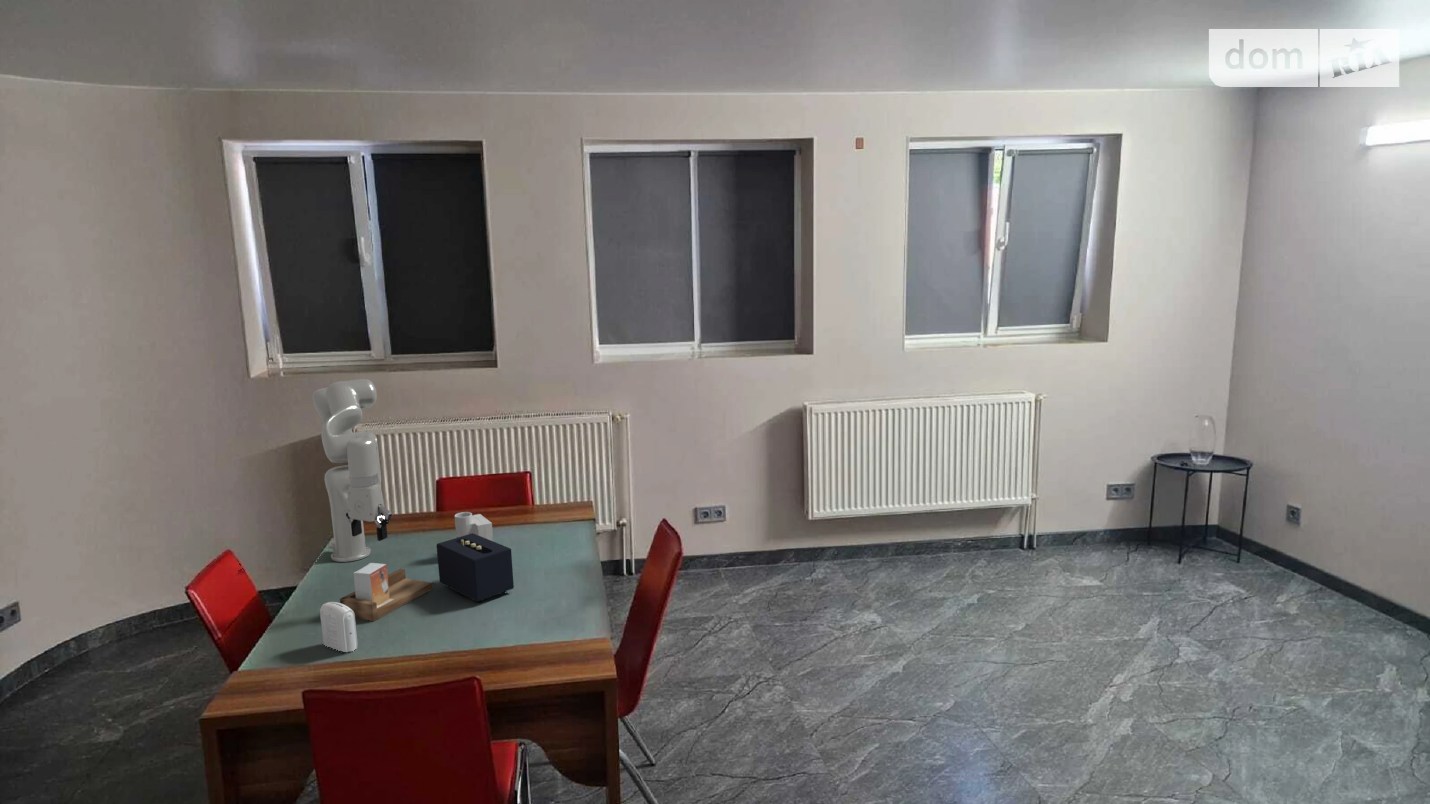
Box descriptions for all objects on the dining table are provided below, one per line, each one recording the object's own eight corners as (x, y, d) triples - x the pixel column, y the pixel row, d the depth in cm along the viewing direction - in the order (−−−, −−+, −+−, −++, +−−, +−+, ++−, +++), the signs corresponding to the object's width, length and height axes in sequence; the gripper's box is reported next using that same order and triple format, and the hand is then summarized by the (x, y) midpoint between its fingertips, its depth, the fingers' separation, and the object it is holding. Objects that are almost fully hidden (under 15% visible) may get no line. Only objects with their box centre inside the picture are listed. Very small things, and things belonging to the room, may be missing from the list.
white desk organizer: (494, 557, 280) (491, 514, 277) (452, 566, 272) (449, 523, 269) (482, 547, 290) (479, 506, 287) (441, 556, 282) (438, 513, 279)
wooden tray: (341, 615, 237) (339, 598, 236) (402, 583, 259) (400, 568, 258) (373, 621, 233) (372, 604, 232) (432, 588, 255) (431, 573, 254)
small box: (373, 608, 236) (369, 574, 234) (356, 607, 238) (352, 572, 236) (390, 597, 244) (387, 563, 242) (373, 595, 245) (370, 562, 243)
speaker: (514, 593, 250) (511, 545, 248) (477, 606, 241) (473, 558, 238) (476, 575, 265) (473, 530, 262) (439, 587, 256) (435, 541, 253)
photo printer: (360, 648, 217) (356, 604, 215) (346, 655, 214) (341, 610, 211) (335, 640, 222) (330, 596, 220) (321, 646, 219) (315, 602, 216)
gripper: (331, 481, 237) (337, 537, 241) (377, 487, 231) (382, 545, 234) (351, 474, 244) (357, 529, 248) (397, 480, 238) (402, 536, 241)
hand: (369, 537), depth 241 cm, fingers open, 9 cm apart
